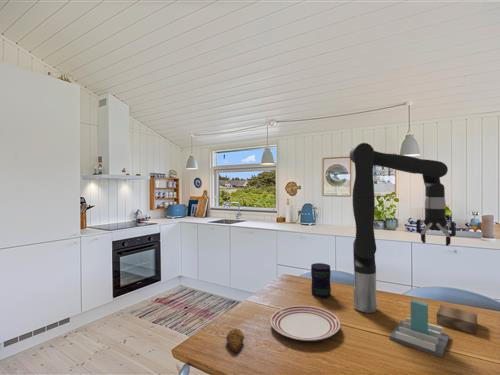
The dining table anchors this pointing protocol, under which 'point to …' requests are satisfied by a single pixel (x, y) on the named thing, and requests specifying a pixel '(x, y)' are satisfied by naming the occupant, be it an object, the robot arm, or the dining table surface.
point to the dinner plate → (305, 323)
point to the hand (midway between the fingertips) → (435, 244)
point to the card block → (419, 317)
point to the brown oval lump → (235, 339)
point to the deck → (457, 319)
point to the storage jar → (321, 280)
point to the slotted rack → (421, 338)
